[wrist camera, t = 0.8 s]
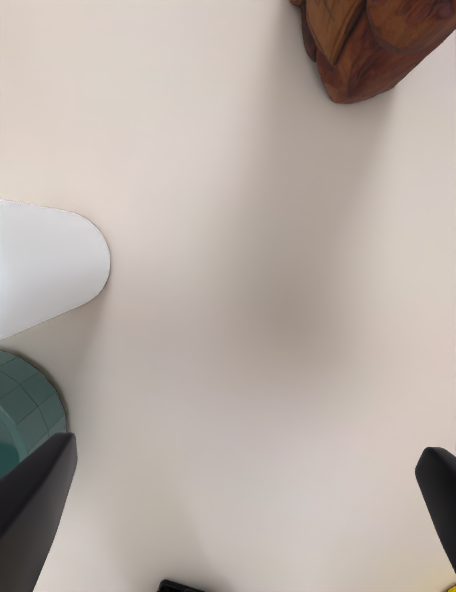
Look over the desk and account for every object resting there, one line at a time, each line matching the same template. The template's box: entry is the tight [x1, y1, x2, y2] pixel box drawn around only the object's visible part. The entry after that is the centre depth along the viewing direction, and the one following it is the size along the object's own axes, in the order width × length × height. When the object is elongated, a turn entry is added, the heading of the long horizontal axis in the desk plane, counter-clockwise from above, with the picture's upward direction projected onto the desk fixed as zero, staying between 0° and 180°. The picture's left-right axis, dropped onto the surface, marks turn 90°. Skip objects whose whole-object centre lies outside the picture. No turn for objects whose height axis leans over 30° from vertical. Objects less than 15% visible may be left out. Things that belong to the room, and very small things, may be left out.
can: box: [0, 199, 110, 341], centre depth 17 cm, size 6×6×12 cm
